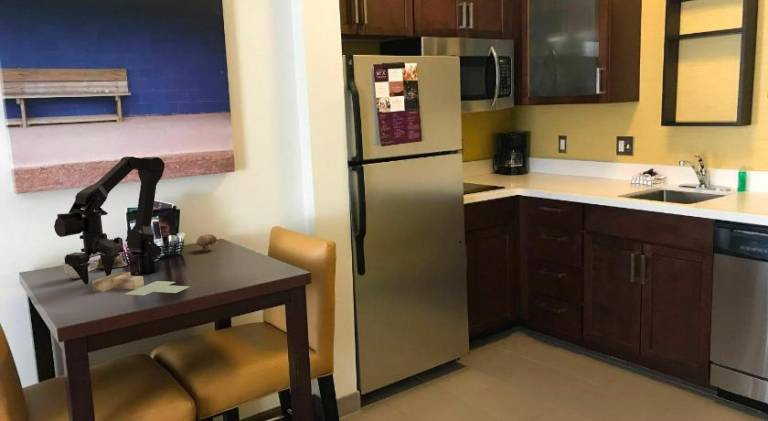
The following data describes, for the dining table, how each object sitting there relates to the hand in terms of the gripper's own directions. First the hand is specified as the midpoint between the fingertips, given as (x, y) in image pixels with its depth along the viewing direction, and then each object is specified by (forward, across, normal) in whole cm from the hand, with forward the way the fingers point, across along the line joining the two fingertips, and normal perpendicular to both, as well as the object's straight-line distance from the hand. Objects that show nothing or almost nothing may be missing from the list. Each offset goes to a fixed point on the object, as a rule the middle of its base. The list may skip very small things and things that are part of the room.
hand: (97, 280), depth 193 cm
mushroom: (+2, +52, -5) cm, 52 cm away
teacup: (+2, +9, +15) cm, 17 cm away
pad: (+2, 0, -24) cm, 24 cm away
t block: (+2, 0, -10) cm, 10 cm away
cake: (+2, +23, +15) cm, 27 cm away
